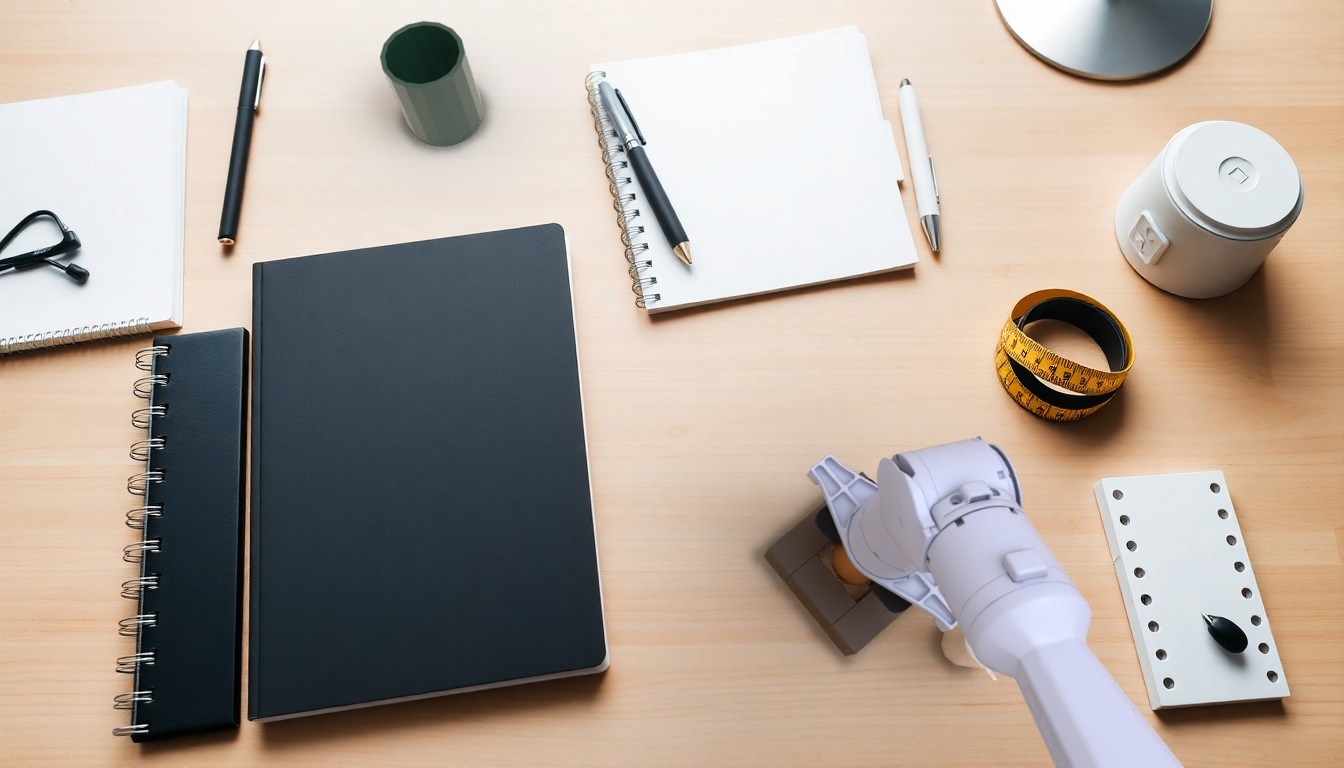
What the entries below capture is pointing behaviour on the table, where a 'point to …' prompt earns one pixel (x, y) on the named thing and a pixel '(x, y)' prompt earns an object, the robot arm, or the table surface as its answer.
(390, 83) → the coffee cup
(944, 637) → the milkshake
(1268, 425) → the table surface
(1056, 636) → the robot arm
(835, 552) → the orange cylinder
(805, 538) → the pod dock
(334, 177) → the table surface
